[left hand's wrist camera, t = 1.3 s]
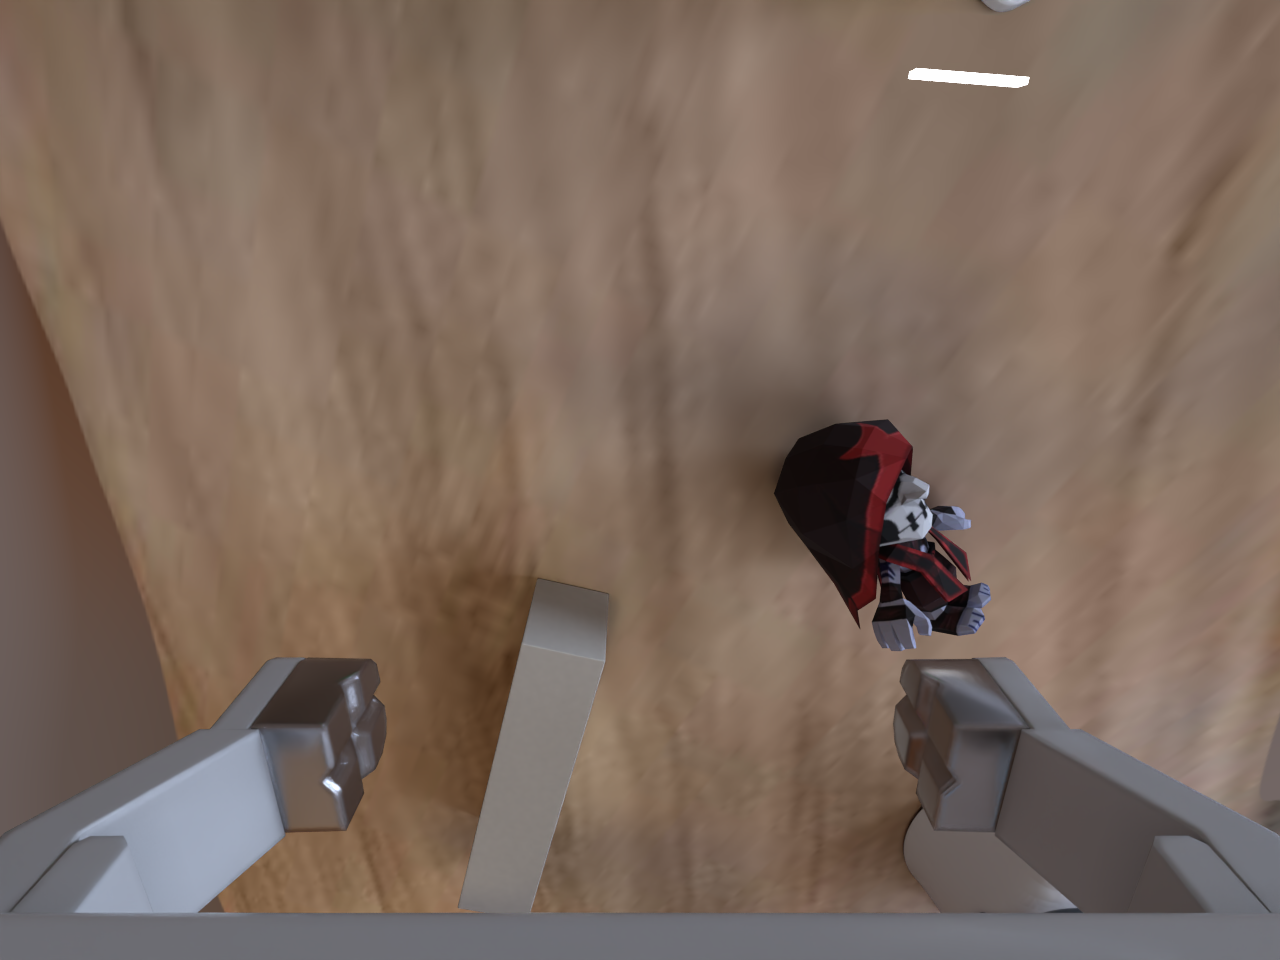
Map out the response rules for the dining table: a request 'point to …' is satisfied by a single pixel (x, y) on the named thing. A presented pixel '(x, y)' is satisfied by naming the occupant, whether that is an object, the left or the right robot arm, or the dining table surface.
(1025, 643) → the dining table surface
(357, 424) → the dining table surface
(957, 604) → the toy
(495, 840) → the bar
